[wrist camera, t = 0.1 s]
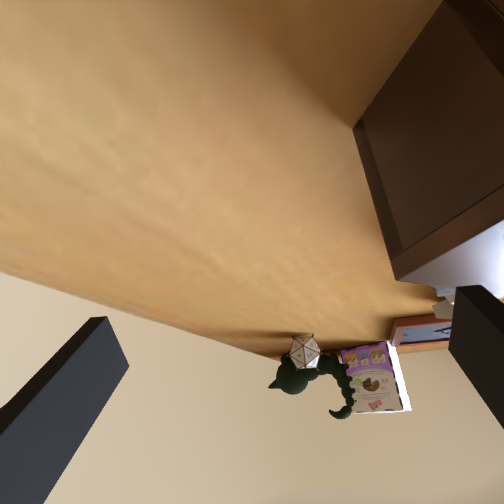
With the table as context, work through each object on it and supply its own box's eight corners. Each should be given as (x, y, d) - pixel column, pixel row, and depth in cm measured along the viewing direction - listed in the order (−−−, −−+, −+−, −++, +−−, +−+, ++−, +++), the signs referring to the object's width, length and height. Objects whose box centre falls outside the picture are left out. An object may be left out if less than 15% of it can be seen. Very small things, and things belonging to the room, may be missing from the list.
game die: (297, 318, 72) (298, 346, 63) (328, 333, 73) (333, 363, 64) (281, 343, 76) (279, 373, 67) (310, 357, 76) (312, 388, 67)
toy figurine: (341, 339, 83) (259, 356, 90) (362, 416, 73) (268, 428, 80) (345, 346, 91) (269, 361, 97) (364, 416, 81) (278, 428, 87)
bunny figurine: (436, 329, 54) (445, 316, 41) (427, 302, 56) (434, 281, 43) (498, 322, 50) (530, 305, 38) (487, 293, 52) (513, 268, 40)
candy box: (349, 352, 89) (360, 414, 81) (339, 349, 86) (350, 413, 77) (395, 344, 81) (412, 411, 73) (386, 340, 78) (404, 411, 69)
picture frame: (541, 302, 54) (394, 318, 61) (547, 313, 53) (397, 328, 60) (502, 330, 70) (389, 340, 77) (506, 338, 69) (391, 348, 76)
